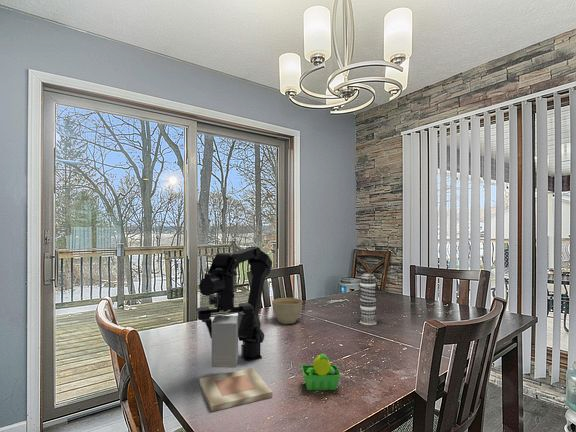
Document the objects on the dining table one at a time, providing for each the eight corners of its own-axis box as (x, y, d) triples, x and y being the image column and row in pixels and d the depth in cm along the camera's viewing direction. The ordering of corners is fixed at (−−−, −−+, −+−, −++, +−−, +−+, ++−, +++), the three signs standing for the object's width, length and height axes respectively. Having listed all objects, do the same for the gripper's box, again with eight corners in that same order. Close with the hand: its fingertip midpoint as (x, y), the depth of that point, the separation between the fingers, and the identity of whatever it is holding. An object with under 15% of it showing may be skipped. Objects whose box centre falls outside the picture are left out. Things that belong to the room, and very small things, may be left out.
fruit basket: (336, 380, 108) (336, 345, 109) (341, 394, 99) (341, 356, 100) (301, 380, 108) (301, 346, 108) (303, 394, 99) (303, 356, 99)
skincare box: (238, 358, 115) (240, 314, 114) (235, 369, 108) (237, 323, 107) (213, 357, 115) (215, 313, 114) (209, 368, 108) (211, 321, 107)
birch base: (252, 372, 114) (252, 367, 114) (272, 396, 98) (272, 391, 98) (199, 383, 106) (199, 378, 107) (211, 411, 90) (211, 405, 90)
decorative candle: (373, 326, 165) (372, 276, 165) (356, 323, 170) (355, 274, 171) (380, 322, 172) (379, 273, 173) (363, 319, 178) (363, 272, 178)
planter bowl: (303, 317, 181) (303, 297, 181) (301, 326, 165) (301, 304, 165) (274, 317, 183) (274, 297, 183) (269, 325, 166) (269, 304, 167)
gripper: (245, 284, 124) (244, 326, 123) (193, 288, 116) (193, 333, 116) (254, 289, 114) (254, 335, 113) (198, 294, 106) (198, 343, 106)
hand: (225, 336), depth 112 cm, fingers closed on skincare box, 9 cm apart
